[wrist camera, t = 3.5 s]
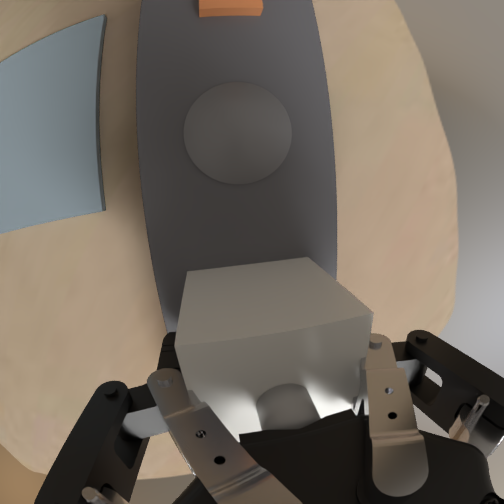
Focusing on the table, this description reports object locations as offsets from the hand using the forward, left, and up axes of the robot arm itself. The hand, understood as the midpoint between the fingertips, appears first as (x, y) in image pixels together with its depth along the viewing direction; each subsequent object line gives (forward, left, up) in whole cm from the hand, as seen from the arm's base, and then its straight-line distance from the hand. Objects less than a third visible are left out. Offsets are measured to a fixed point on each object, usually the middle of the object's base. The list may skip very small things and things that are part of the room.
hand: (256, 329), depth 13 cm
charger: (0, 0, -3) cm, 3 cm away
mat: (-13, -15, -5) cm, 21 cm away
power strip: (-6, 0, -5) cm, 8 cm away
